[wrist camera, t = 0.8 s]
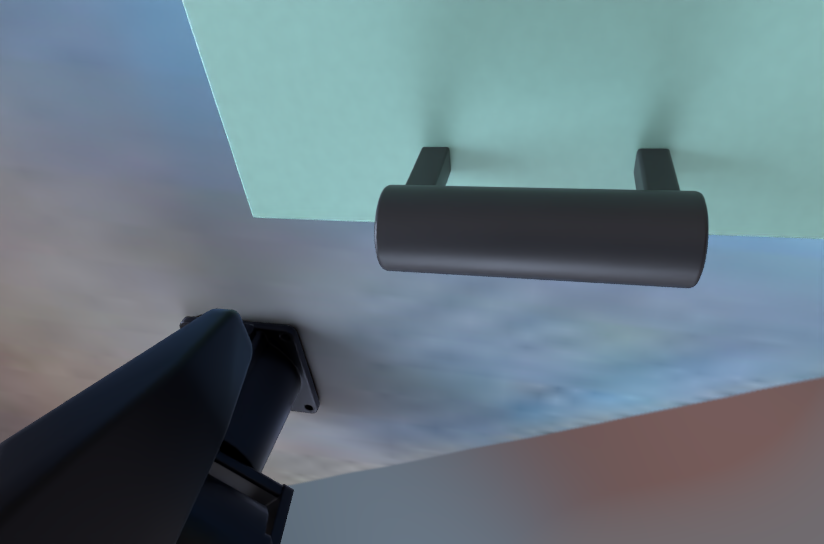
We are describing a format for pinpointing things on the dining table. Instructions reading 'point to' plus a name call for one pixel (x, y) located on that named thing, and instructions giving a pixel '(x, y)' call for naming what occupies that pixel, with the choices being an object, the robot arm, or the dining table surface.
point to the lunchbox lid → (527, 127)
